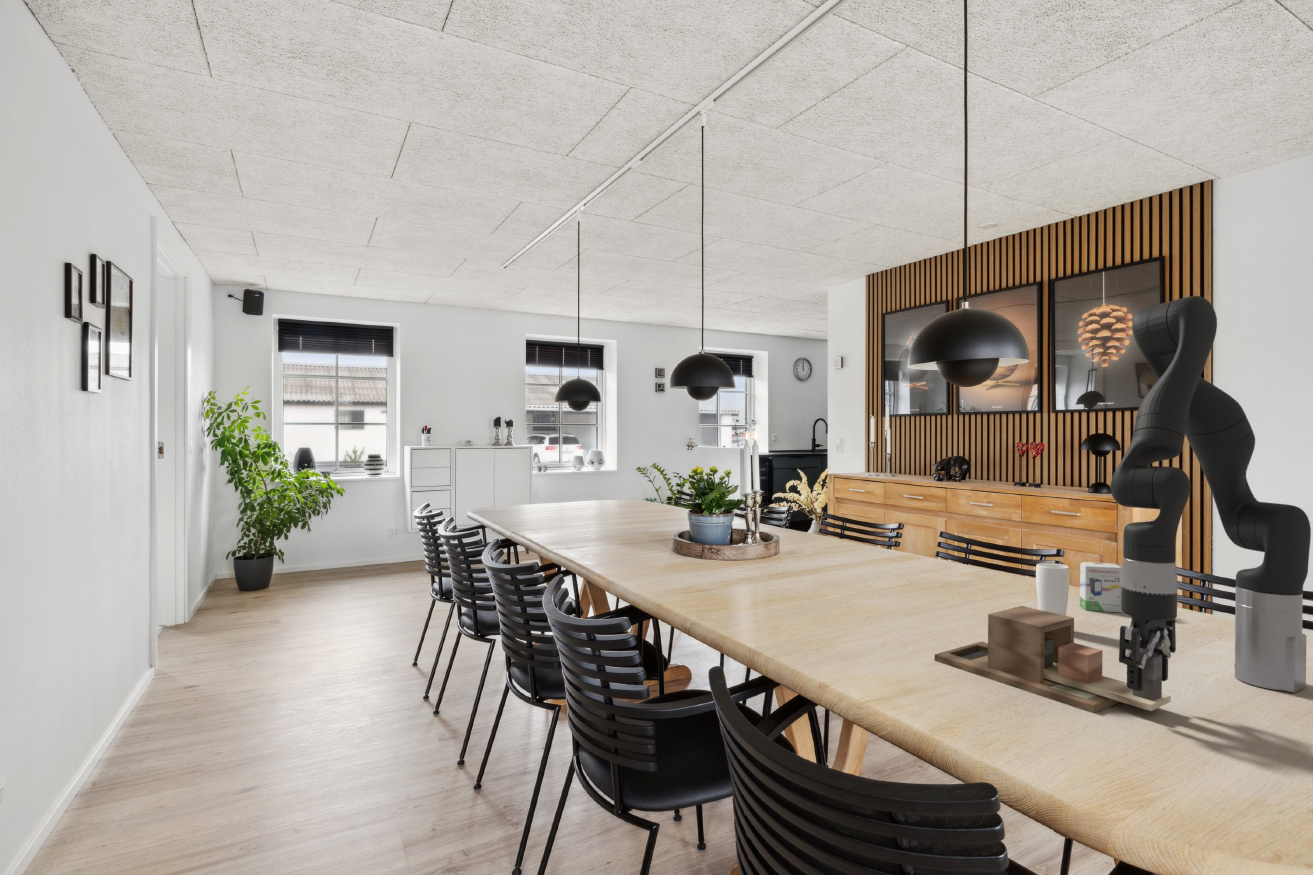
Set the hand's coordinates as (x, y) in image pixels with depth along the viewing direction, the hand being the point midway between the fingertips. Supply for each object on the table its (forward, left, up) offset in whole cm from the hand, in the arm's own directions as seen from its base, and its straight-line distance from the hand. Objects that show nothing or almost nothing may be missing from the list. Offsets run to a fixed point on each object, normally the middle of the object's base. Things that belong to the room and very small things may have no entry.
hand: (1147, 684), depth 112 cm
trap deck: (+20, 0, -5) cm, 20 cm away
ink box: (+36, -63, -5) cm, 73 cm away
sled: (+9, 0, -3) cm, 9 cm away
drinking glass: (+34, -34, -5) cm, 48 cm away
